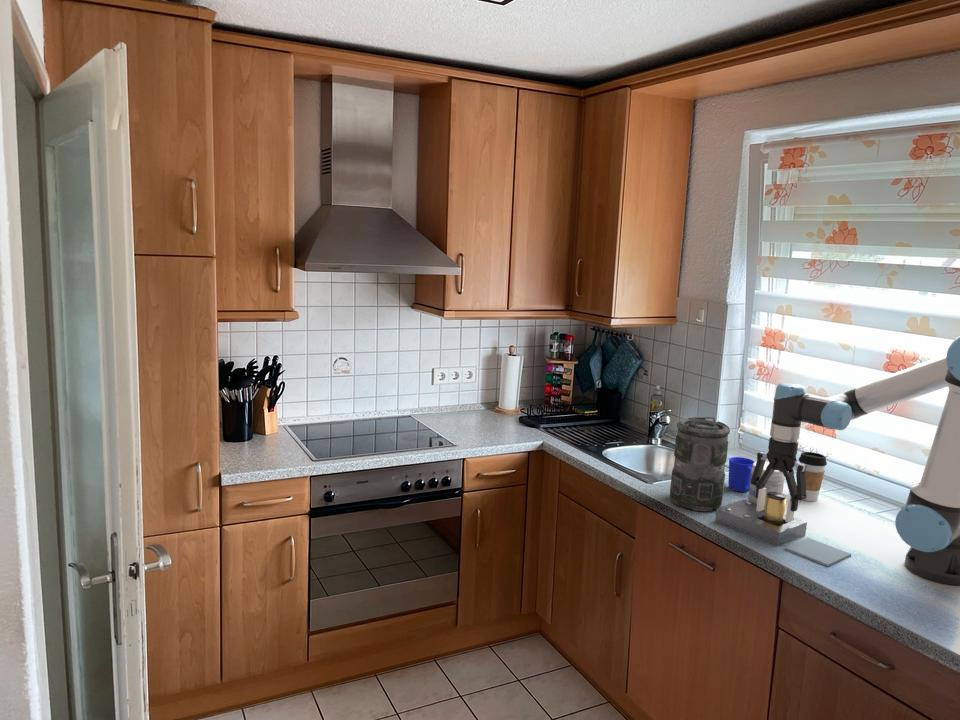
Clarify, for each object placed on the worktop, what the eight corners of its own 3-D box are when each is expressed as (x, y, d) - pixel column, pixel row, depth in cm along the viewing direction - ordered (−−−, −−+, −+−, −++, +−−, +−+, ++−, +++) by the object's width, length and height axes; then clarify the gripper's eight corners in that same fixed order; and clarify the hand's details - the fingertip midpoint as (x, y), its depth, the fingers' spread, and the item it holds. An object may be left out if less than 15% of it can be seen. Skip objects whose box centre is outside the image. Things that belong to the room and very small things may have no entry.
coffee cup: (793, 499, 232) (798, 455, 229) (794, 491, 240) (799, 448, 237) (821, 504, 229) (827, 459, 226) (821, 496, 236) (827, 453, 233)
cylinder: (785, 532, 204) (790, 495, 202) (775, 536, 201) (780, 499, 199) (769, 526, 208) (773, 490, 206) (758, 530, 205) (763, 493, 203)
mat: (851, 556, 192) (851, 554, 191) (827, 566, 184) (828, 564, 184) (808, 539, 201) (808, 537, 201) (784, 549, 194) (784, 547, 194)
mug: (740, 498, 231) (744, 468, 229) (721, 485, 243) (724, 457, 241) (763, 497, 233) (767, 468, 231) (743, 484, 244) (746, 456, 243)
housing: (805, 535, 204) (807, 520, 203) (777, 546, 195) (779, 531, 195) (743, 511, 219) (744, 498, 219) (715, 521, 211) (716, 507, 210)
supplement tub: (741, 505, 225) (746, 460, 222) (770, 505, 226) (775, 460, 223) (755, 517, 215) (761, 470, 213) (785, 517, 216) (791, 471, 214)
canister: (684, 513, 216) (694, 423, 211) (660, 494, 231) (668, 410, 226) (731, 511, 219) (741, 423, 215) (704, 492, 235) (713, 409, 230)
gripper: (828, 446, 193) (817, 525, 197) (757, 427, 210) (748, 501, 214) (813, 450, 189) (802, 531, 193) (742, 430, 205) (734, 505, 209)
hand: (774, 515), depth 203 cm, fingers open, 8 cm apart
